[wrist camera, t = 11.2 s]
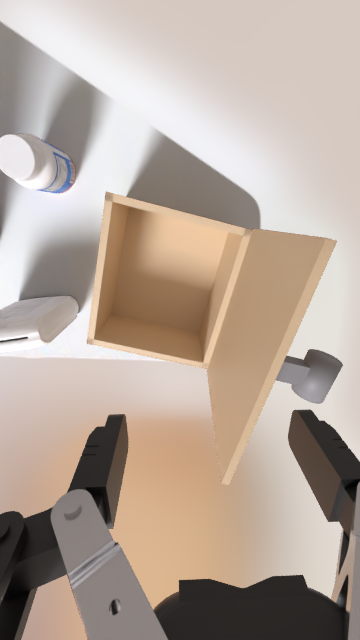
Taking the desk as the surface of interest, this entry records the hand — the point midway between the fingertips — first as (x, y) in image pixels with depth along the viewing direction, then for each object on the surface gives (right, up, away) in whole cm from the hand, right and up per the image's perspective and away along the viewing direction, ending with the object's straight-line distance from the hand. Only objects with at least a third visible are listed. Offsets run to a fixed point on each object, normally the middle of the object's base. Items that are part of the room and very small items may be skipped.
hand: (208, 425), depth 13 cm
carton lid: (+4, +4, +12) cm, 13 cm away
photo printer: (-23, +7, +30) cm, 38 cm away
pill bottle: (-18, +25, +23) cm, 38 cm away
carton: (-3, +12, +28) cm, 30 cm away
